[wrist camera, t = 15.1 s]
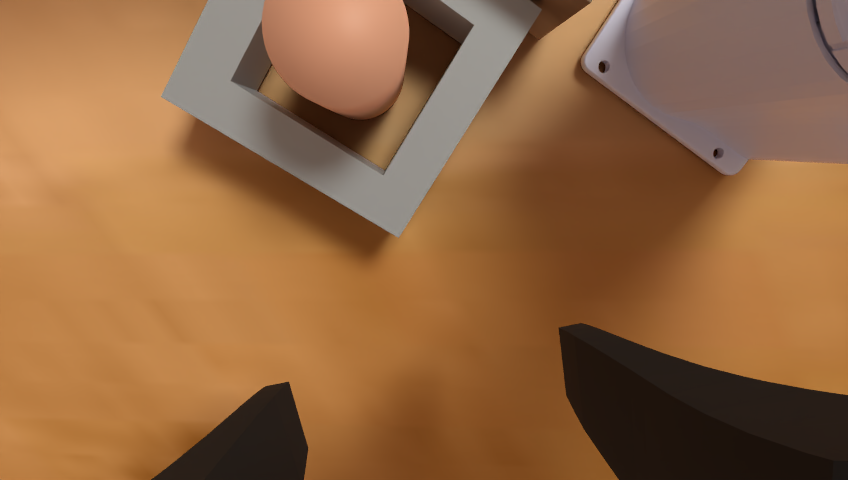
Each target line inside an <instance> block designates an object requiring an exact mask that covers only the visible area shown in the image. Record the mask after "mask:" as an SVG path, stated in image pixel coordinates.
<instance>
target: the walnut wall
mask: <svg viewBox="0 0 848 480" xmlns="http://www.w3.org/2000/svg"><path fill="white" fill-rule="evenodd" d="M530 1H532V2H533V3H534V4H536V5H537V6H538V7H539V8H541V9H542V10H541V12H540V14H539V15H538V17H537V18H536V20H535V22H534V23H533V25H532V26H531V28H530V29H529V31H528V32H529V33H530V34H532V35H533V36H534V37H536V38H537V39H538V40H539V39H541V38H542V37H543V36H545V35H546V34H548V33H549V32H550V31H552V30H553V29H555V28H556V27H557V26H559V25H560V24H562V23H563V22H564V21H566V20H567V19H569V18H570V17H571V16H573V15H574V14H576V13H577V12H578V11H580V10H581V9H583V8H584V7H585V6H587V5H588V4H590V3H591V1H592V0H530Z"/></svg>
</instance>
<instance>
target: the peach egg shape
mask: <svg viewBox="0 0 848 480" xmlns="http://www.w3.org/2000/svg"><path fill="white" fill-rule="evenodd" d="M262 34H263V39H264V44H265V47H266V51H267V54H268V56H269V58H270V60H271V63H272V65H273V66H274V68H275V69H276V71H277V73H278V74H279V75H280V77H281V78H282V79H283V80H284V81H285V82H286V83H287V84H288V85H289V86H290V87H291V88H292V89H293V90H294V91H296V92H297V93H298V94H300V95H301V96H303V97H305V98H306V99H308V100H310V101H312V102H314V103H317V104H319V105H321V106H323V107H325V108H327V109H329V110H331V111H333V112H335V113H337V114H339V115H341V116H344V117H347V118H350V119H356V120H364V119H370V118H374V117H376V116H379V115H381V114H382V113H384V112H385V111H387V110H388V109H389V108H390V107H391V106H392V105H393V104H394V102H395V101H396V100H397V98H398V96H399V94H400V92H401V89H402V85H403V80H404V73H405V66H406V58H407V51H408V43H409V23H408V16H407V12H406V8H405V5H404V2H403V0H265V2H264V6H263V12H262Z"/></svg>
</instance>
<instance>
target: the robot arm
mask: <svg viewBox="0 0 848 480" xmlns="http://www.w3.org/2000/svg"><path fill="white" fill-rule="evenodd" d="M600 62H603V63H604V64H605V67H606V69H605V72H604V73H601V72H600V71H599V68H598V66H599V63H600ZM581 66H582V69H583V70H584V71H585V72H586V73H588V74H589V75H590V76H592V77H593V78H594V79H596V80H597V81H598V82H600V83H601V84H602V85H604V86H605V87H606V88H608V89H609V90H610V91H612V92H613V93H614V94H616V95H617V96H618V97H620V98H621V99H622V100H624V101H625V102H627V103H628V104H629V105H631V106H632V107H633V108H635V109H636V110H637V111H639V112H640V113H641V114H643V115H644V116H645V117H647V118H648V119H649V120H651V121H652V122H653V123H655V124H656V125H657V126H659V127H660V128H661V129H663V130H664V131H665V132H667V133H668V134H669V135H671V136H672V137H673V138H675V139H676V140H677V141H679V142H680V143H681V144H683V145H684V146H685V147H687V148H688V149H689V150H691V151H692V152H693V153H695V154H696V155H697V156H699V157H700V158H702V159H703V160H704V161H706V162H707V163H708V164H710V165H711V166H712V167H714V168H715V169H716V170H718V171H719V172H720V173H722V174H724V175H735V174H737V173H738V172H739V171H740V170H741V169H742V167H743V166H744V165H745V164H746V162H747V161H748V160H749V159H754V160H775V161H797V162H818V163H839V164H848V0H619V1H618V2H617V4H616V6H615V7H614V9H613V10H612V12H611V13H610V15H609V16H608V18H607V19H606V21H605V22H604V24H603V25H602V27H601V28H600V30H599V31H598V33H597V34H596V36H595V37H594V39H593V41H592V42H591V44H590V45H589V47H588V48H587V50H586V51H585V53H584V54H583V56H582V58H581ZM715 149H717V152H718V153H717V156H716V157H715V158H714V156H713V152H714V150H715ZM559 335H560V343H561V352H562V361H563V370H564V379H565V388H566V396H567V398H568V399H569V401H570V403H571V405H572V407H573V409H574V411H575V413H576V415H577V417H578V419H579V421H580V423H581V425H582V426H583V428H584V430H585V431H586V433H587V434H588V436H589V437H590V439H591V440H592V442H593V443H594V445H595V446H596V448H597V449H598V450H599V452H600V453H601V455H602V456H603V458H604V459H605V461H606V462H607V463H608V465H609V466H610V468H611V469H612V471H613V472H614V473H615V475H616V476H617V478H618V479H619V480H848V395H843V394H836V393H829V392H822V391H816V390H809V389H804V388H798V387H793V386H787V385H782V384H777V383H771V382H766V381H761V380H757V379H752V378H748V377H743V376H739V375H736V374H732V373H728V372H724V371H720V370H716V369H712V368H708V367H705V366H701V365H698V364H695V363H691V362H688V361H685V360H682V359H679V358H676V357H673V356H670V355H667V354H664V353H661V352H658V351H656V350H653V349H650V348H647V347H645V346H642V345H639V344H637V343H634V342H631V341H629V340H626V339H624V338H621V337H619V336H616V335H614V334H611V333H608V332H606V331H603V330H601V329H598V328H595V327H592V326H589V325H586V324H583V323H579V324H574V325H570V326H565V327H560V328H559ZM307 453H308V446H307V443H306V439H305V436H304V432H303V429H302V425H301V422H300V419H299V415H298V412H297V408H296V405H295V401H294V398H293V395H292V391H291V388H290V384H289V382H285V383H280V384H275V385H270V386H265V387H264V388H263V389H261V390H260V391H258V392H257V393H256V394H255V395H253V396H252V397H251V398H250V399H248V400H247V401H246V402H245V403H244V404H243V405H241V406H240V407H239V408H238V409H237V410H236V411H234V412H233V413H232V414H231V415H230V416H229V417H228V418H226V419H225V420H224V421H223V422H222V423H221V424H219V425H218V426H217V427H216V428H215V429H214V430H213V431H211V432H210V433H209V434H208V435H207V436H206V437H204V438H203V439H202V440H201V441H199V442H198V443H197V444H196V445H195V446H193V447H192V448H191V449H190V450H188V451H187V452H186V453H185V454H183V455H182V456H181V457H180V458H178V459H177V460H176V461H175V462H174V463H172V464H171V465H170V466H169V467H167V468H166V469H165V470H163V471H162V472H161V473H160V474H158V475H157V476H156V477H154V478H153V479H151V480H304V474H305V468H306V460H307Z"/></svg>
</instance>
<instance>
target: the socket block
mask: <svg viewBox="0 0 848 480" xmlns="http://www.w3.org/2000/svg"><path fill="white" fill-rule="evenodd" d="M264 2H265V0H208V2H207V4H206V6H205V8H204V10H203V12H202V14H201V16H200V18H199V20H198V22H197V24H196V26H195V28H194V30H193V32H192V34H191V36H190V38H189V40H188V43H187V45H186V47H185V49H184V51H183V53H182V55H181V57H180V59H179V61H178V63H177V65H176V67H175V69H174V71H173V73H172V75H171V77H170V79H169V81H168V83H167V85H166V87H165V90H164V92H163V94H162V96H161V97H162V98H164V99H166V100H167V101H169V102H171V103H172V104H174V105H176V106H177V107H179V108H181V109H182V110H184V111H186V112H188V113H189V114H191V115H193V116H194V117H196V118H198V119H199V120H201V121H203V122H204V123H206V124H208V125H209V126H211V127H213V128H214V129H216V130H218V131H220V132H221V133H223V134H225V135H226V136H228V137H230V138H231V139H233V140H235V141H236V142H238V143H240V144H241V145H243V146H245V147H246V148H248V149H250V150H252V151H253V152H255V153H257V154H258V155H260V156H262V157H263V158H265V159H267V160H268V161H270V162H272V163H273V164H275V165H277V166H278V167H280V168H282V169H284V170H285V171H287V172H289V173H290V174H292V175H294V176H295V177H297V178H299V179H300V180H302V181H304V182H305V183H307V184H309V185H310V186H312V187H314V188H316V189H317V190H319V191H321V192H322V193H324V194H326V195H327V196H329V197H331V198H332V199H334V200H336V201H337V202H339V203H341V204H342V205H344V206H346V207H348V208H349V209H351V210H353V211H354V212H356V213H358V214H359V215H361V216H363V217H364V218H366V219H368V220H369V221H371V222H373V223H374V224H376V225H378V226H379V227H381V228H383V229H385V230H386V231H388V232H390V233H391V234H393V235H395V236H396V237H398V238H399V236H400V235H401V233H402V232H403V230H404V229H405V227H406V225H407V224H408V222H409V221H410V219H411V217H412V216H413V214H414V213H415V211H416V209H417V208H418V206H419V205H420V203H421V201H422V200H423V198H424V197H425V195H426V193H427V192H428V190H429V189H430V187H431V186H432V184H433V182H434V181H435V179H436V178H437V176H438V174H439V173H440V171H441V170H442V168H443V166H444V165H445V163H446V162H447V160H448V158H449V157H450V155H451V154H452V152H453V150H454V149H455V147H456V146H457V144H458V143H459V141H460V139H461V138H462V136H463V135H464V133H465V131H466V130H467V128H468V127H469V125H470V123H471V122H472V120H473V119H474V117H475V115H476V114H477V112H478V111H479V109H480V107H481V106H482V104H483V103H484V101H485V100H486V98H487V96H488V95H489V93H490V92H491V90H492V88H493V87H494V85H495V84H496V82H497V80H498V79H499V77H500V76H501V74H502V72H503V71H504V69H505V68H506V66H507V65H508V63H509V61H510V60H511V58H512V57H513V55H514V53H515V52H516V50H517V49H518V47H519V45H520V44H521V42H522V41H523V39H524V37H525V36H526V34H527V33H528V31H529V29H530V28H531V26H532V25H533V23H534V22H535V20H536V18H537V17H538V15H539V14H540V12H541V10H542V9H541V8H539V7H538V6H537V5H536V4H534V3H533V2H532V1H530V0H403V2H404V3H405V4H406V5H407V6H409V7H410V8H412V9H413V10H414V11H416V12H417V13H419V14H420V15H421V16H423V17H424V18H426V19H427V20H428V21H430V22H431V23H433V24H434V25H435V26H437V27H438V28H440V29H441V30H442V31H444V32H445V33H447V34H448V35H449V36H451V37H452V38H454V39H455V40H456V41H458V42H459V43H461V46H460V47H459V49H458V51H457V52H456V54H455V55H454V57H453V59H452V60H451V62H450V64H449V65H448V67H447V69H446V70H445V72H444V74H443V75H442V77H441V79H440V80H439V82H438V84H437V85H436V87H435V89H434V90H433V92H432V94H431V95H430V97H429V99H428V100H427V102H426V104H425V105H424V107H423V109H422V110H421V112H420V113H419V115H418V117H417V118H416V120H415V122H414V123H413V125H412V127H411V128H410V130H409V132H408V133H407V135H406V137H405V138H404V140H403V142H402V143H401V145H400V147H399V148H398V150H397V152H396V153H395V155H394V157H393V158H392V160H391V162H390V163H389V165H388V166H387V168H386V170H383V169H382V168H380V167H378V166H377V165H375V164H374V163H372V162H370V161H369V160H367V159H366V158H364V157H362V156H361V155H359V154H358V153H356V152H354V151H353V150H351V149H349V148H348V147H346V146H345V145H343V144H341V143H340V142H338V141H337V140H335V139H333V138H332V137H330V136H329V135H327V134H325V133H324V132H322V131H321V130H319V129H317V128H316V127H314V126H313V125H311V124H309V123H308V122H306V121H305V120H303V119H301V118H300V117H298V116H297V115H295V114H293V113H292V112H290V111H289V110H287V109H285V108H284V107H282V106H280V105H279V104H277V103H276V102H274V101H272V100H271V99H269V98H268V97H266V96H264V95H263V94H261V93H260V92H258V91H257V90H258V88H259V86H260V85H261V83H262V81H263V79H264V77H265V75H266V73H267V71H268V69H269V68H270V66H271V64H272V63H271V60H270V58H269V56H268V54H267V51H266V47H265V44H264V39H263V34H262V12H263V6H264Z"/></svg>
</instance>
